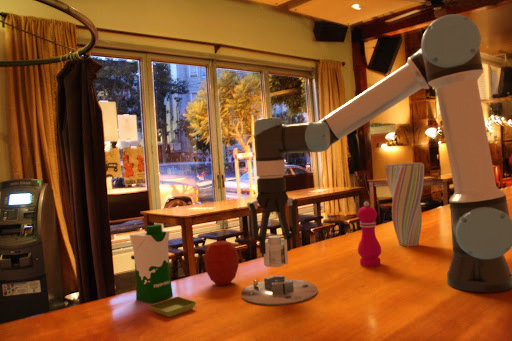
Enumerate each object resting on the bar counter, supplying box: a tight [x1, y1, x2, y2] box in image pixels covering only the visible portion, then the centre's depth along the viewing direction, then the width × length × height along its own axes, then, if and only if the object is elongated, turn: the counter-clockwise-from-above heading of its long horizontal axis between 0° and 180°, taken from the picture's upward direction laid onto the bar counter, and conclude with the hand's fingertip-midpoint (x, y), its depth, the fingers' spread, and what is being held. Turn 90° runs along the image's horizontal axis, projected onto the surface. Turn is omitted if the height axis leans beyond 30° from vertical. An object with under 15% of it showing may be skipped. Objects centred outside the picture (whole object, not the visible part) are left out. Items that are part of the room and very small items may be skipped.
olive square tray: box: [148, 296, 198, 318], centre depth 112 cm, size 9×9×2 cm
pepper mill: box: [357, 201, 382, 268], centre depth 143 cm, size 7×7×20 cm
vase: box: [384, 162, 425, 247], centre depth 167 cm, size 14×14×30 cm
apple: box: [203, 236, 239, 287], centre depth 132 cm, size 10×10×14 cm
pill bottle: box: [267, 234, 285, 268], centre depth 120 cm, size 4×4×8 cm
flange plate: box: [241, 274, 318, 306], centre depth 120 cm, size 20×20×4 cm
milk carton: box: [129, 223, 174, 305], centre depth 123 cm, size 9×9×20 cm
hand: (276, 264), depth 120 cm, fingers closed on pill bottle, 4 cm apart
